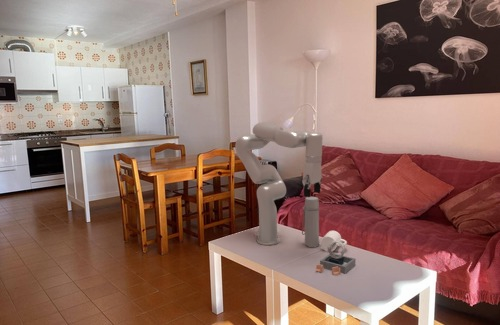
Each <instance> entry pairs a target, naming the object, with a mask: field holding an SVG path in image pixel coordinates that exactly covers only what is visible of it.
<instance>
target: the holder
mask: <svg viewBox="0 0 500 325" xmlns="http://www.w3.org/2000/svg"><path fill="white" fill-rule="evenodd" d="M332 253H333V254H334V255H338V256H340V255H341V254H337V253H334V252H332ZM342 257H344V264H342V265H339V264H335V263H331V262H329V258H331V256H330V254H329V253H328V255H326V256H324V257H323V258H321V259H320V260H319V265H323V269H326V270H329V271H332V268H333V267H337V266H338V267H339V268H341V274H347V273H348V272H350V270H352V269H353V268H354V267H355V266H356V258H355V257H349V256H346V255H343V256H342Z"/></svg>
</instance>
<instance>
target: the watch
mask: <svg viewBox="0 0 500 325" xmlns="http://www.w3.org/2000/svg"><path fill="white" fill-rule="evenodd" d="M336 243H338V244H340V245H341V246H340V247H341V249H342V250H341V252H340V254H338V255H340V256H338V255H334V254H335V253H334V252H333V251H331V250H332V249H333V248H334V246H335V245H336ZM343 243H344V242H341V241H339V240H336V241H334V240H333V241H332V242H331V243H330V244H329V245H328V247H327V249H328V252H327V253H328V255H329V254H330V256H331V258H329V262H331V263H335V264H339V265H342V264H344V257H342V256H345V253H346V245H345V246H344V244H343ZM333 253H334V254H333Z"/></svg>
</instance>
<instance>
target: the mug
mask: <svg viewBox="0 0 500 325" xmlns="http://www.w3.org/2000/svg"><path fill="white" fill-rule="evenodd" d="M333 240H334V241H336V240H339V241H341V242H342V243H343V244H344V246H345V247H346V246H347V244H348V242H347V240H345V239H343V238H342V236H341V234H340V233H339V232H338V231H336V230H329V231H328V232H327V233H326V234H325V235H324V236H323V237H322V238H321V240H320V247H321V249H322V250H324V252H327V253H328V249H327V247H328V245H329V244H330V243H331V242H332V241H333ZM337 247H341V245H340V244H338V243H336V245H335V246H334V248H333V249H332V250H331V251H332V252H335V250H336V249H337Z"/></svg>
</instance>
